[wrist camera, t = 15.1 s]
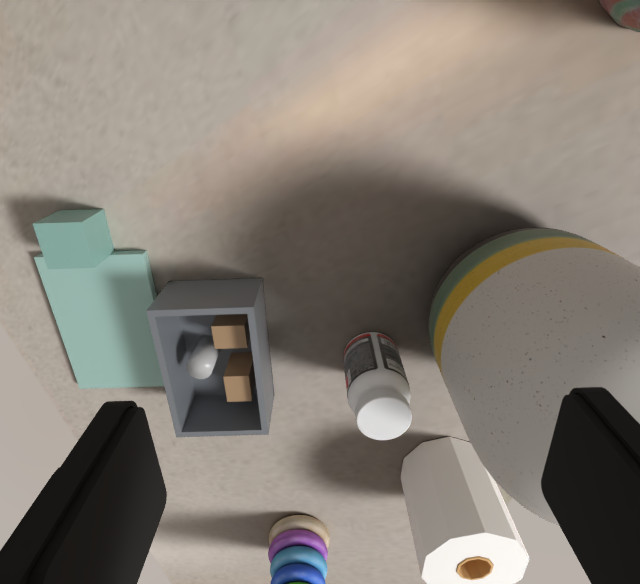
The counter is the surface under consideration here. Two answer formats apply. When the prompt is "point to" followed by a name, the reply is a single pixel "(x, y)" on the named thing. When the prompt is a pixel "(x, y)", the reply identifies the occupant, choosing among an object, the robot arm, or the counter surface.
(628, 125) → the counter surface
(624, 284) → the vase
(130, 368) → the mint slab with cube
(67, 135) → the counter surface
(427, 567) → the toilet paper
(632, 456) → the robot arm
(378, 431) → the pill bottle
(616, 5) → the potted plant
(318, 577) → the stacking toy
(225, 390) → the tub
